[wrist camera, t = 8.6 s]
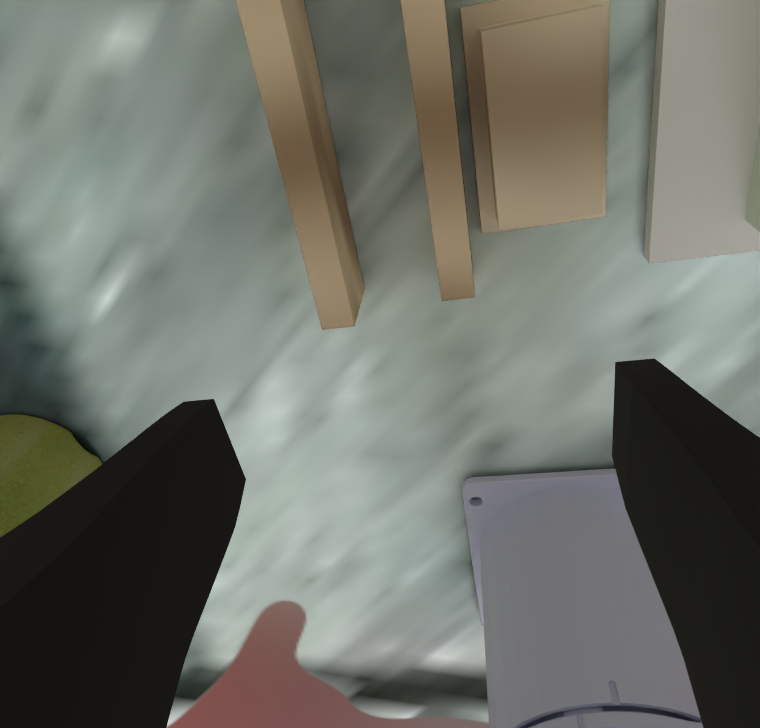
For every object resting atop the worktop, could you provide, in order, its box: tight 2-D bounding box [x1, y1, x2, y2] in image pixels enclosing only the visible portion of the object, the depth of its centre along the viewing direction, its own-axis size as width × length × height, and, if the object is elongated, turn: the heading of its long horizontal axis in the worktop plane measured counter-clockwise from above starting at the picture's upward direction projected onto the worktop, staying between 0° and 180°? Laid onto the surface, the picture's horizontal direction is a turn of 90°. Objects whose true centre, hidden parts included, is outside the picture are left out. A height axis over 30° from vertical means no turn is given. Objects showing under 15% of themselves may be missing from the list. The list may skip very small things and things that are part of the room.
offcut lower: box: [460, 0, 610, 234], centre depth 17 cm, size 6×4×1 cm, turn 10°
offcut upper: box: [478, 4, 603, 230], centre depth 16 cm, size 5×3×1 cm, turn 11°
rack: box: [236, 0, 475, 330], centre depth 16 cm, size 9×5×2 cm, turn 10°
